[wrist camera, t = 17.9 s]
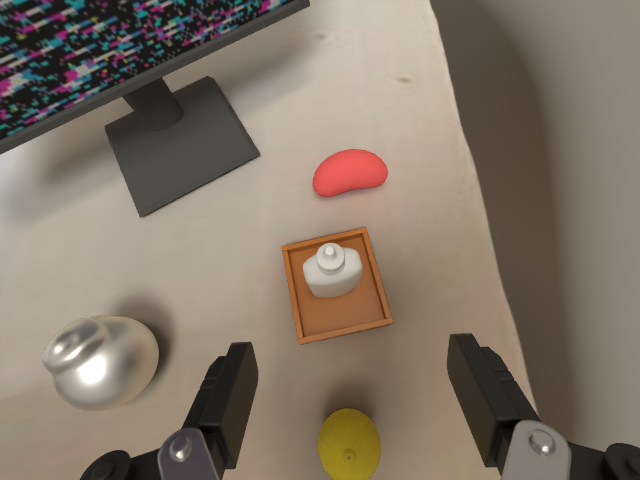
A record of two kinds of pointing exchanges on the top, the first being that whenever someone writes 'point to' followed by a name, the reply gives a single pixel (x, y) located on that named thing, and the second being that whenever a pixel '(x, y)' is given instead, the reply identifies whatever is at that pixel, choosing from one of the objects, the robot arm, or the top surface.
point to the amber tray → (343, 311)
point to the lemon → (349, 445)
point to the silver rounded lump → (101, 361)
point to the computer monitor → (131, 82)
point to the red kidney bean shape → (349, 172)
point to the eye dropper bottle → (333, 271)
